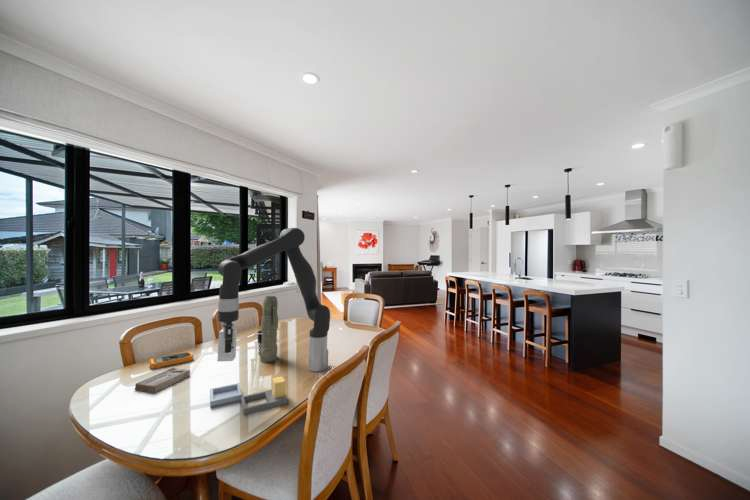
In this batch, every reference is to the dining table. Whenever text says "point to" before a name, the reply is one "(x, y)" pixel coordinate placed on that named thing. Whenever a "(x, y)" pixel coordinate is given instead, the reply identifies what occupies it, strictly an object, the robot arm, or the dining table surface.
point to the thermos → (269, 330)
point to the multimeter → (171, 360)
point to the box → (162, 380)
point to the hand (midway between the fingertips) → (227, 349)
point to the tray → (225, 395)
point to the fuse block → (267, 397)
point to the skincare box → (221, 347)
